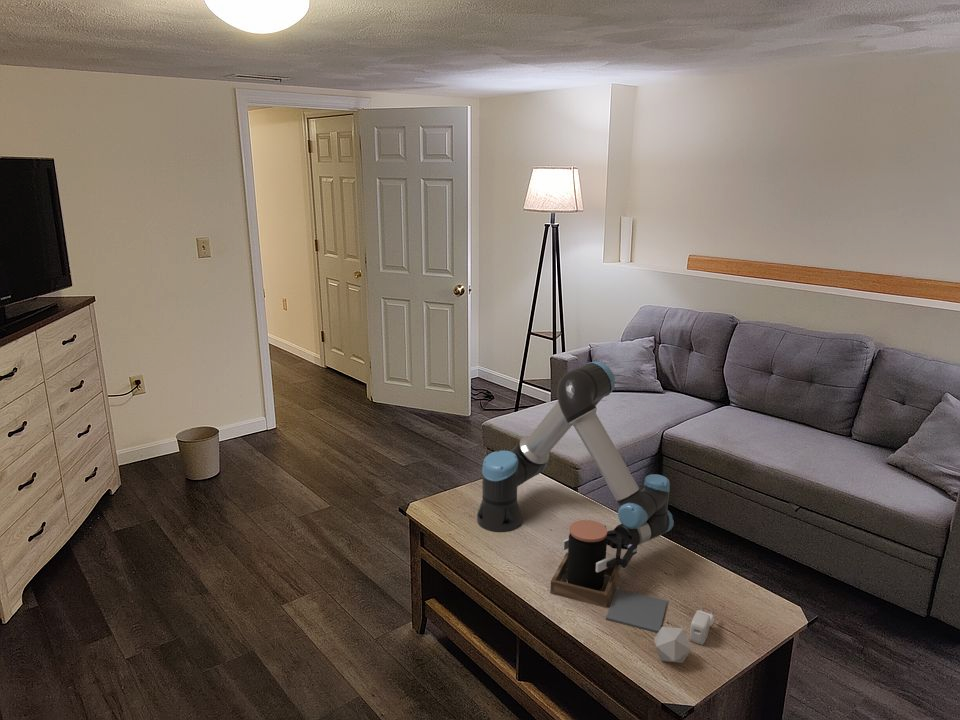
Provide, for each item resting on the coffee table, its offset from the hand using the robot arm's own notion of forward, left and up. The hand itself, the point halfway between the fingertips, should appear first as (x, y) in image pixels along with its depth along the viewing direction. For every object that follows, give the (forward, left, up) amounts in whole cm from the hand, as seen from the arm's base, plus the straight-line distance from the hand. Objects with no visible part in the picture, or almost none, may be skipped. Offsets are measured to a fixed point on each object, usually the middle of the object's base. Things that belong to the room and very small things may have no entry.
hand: (579, 556), depth 191 cm
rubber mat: (+3, +18, -10) cm, 21 cm away
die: (+18, +29, -11) cm, 36 cm away
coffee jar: (-3, +2, -11) cm, 11 cm away
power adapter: (+5, +35, -11) cm, 37 cm away
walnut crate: (-3, +2, -10) cm, 11 cm away
